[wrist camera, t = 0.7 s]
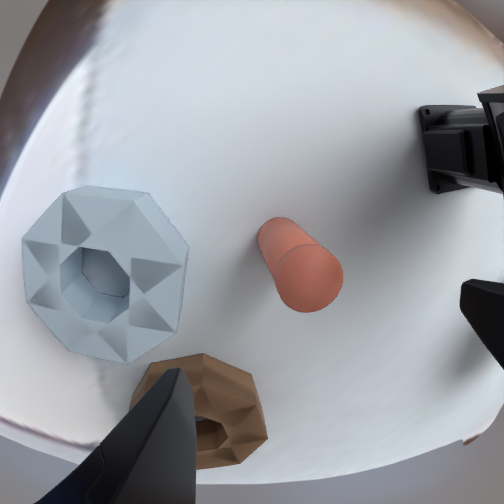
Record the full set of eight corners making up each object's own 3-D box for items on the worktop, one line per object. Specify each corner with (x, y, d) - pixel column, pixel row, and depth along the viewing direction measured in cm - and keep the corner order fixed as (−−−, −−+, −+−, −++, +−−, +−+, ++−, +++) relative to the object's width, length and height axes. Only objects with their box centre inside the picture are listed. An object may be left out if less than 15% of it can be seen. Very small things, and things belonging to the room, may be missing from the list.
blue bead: (121, 155, 17) (101, 156, 14) (216, 281, 20) (217, 306, 17) (26, 250, 18) (0, 266, 14) (112, 352, 21) (99, 381, 17)
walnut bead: (242, 344, 22) (247, 375, 18) (268, 427, 25) (274, 456, 21) (117, 368, 21) (106, 397, 18) (165, 444, 24) (162, 472, 21)
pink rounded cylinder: (297, 211, 19) (339, 242, 13) (304, 254, 20) (345, 302, 13) (252, 222, 19) (271, 258, 12) (261, 265, 20) (284, 319, 13)
